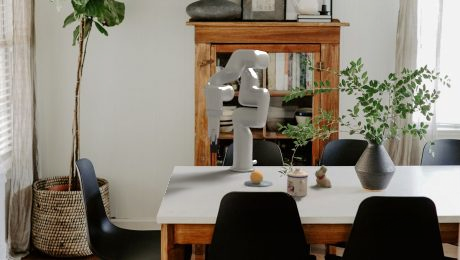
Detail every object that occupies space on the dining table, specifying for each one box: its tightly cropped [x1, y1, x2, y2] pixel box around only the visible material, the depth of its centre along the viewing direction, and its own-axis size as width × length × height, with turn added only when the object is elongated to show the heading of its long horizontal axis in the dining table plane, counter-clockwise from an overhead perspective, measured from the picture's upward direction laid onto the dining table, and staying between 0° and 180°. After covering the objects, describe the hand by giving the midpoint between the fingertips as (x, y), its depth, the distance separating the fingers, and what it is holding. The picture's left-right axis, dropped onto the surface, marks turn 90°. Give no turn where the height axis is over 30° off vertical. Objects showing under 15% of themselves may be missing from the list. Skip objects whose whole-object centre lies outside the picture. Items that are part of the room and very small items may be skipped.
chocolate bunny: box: [314, 164, 332, 189], centre depth 316 cm, size 6×8×10 cm
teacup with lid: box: [286, 167, 309, 197], centre depth 298 cm, size 12×9×12 cm
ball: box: [249, 170, 264, 184], centre depth 319 cm, size 6×6×6 cm
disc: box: [244, 179, 274, 188], centre depth 320 cm, size 13×13×1 cm
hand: (213, 152), depth 318 cm, fingers closed
